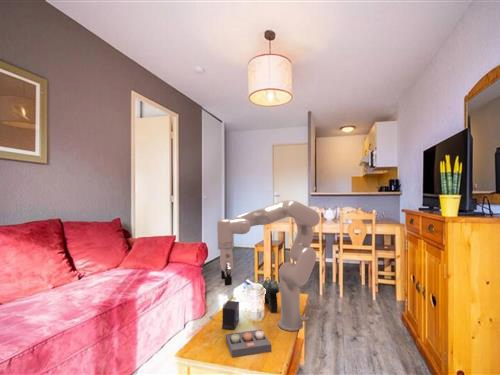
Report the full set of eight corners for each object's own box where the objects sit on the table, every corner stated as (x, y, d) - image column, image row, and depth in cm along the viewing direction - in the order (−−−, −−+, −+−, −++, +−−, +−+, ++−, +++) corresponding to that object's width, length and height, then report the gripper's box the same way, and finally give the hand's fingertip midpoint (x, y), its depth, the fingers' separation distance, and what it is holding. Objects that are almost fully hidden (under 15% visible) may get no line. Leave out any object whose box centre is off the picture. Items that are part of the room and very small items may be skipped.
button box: (261, 335, 132) (261, 328, 132) (271, 351, 119) (271, 343, 119) (225, 340, 128) (225, 333, 128) (231, 357, 114) (231, 349, 114)
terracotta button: (250, 337, 125) (250, 332, 125) (252, 341, 122) (252, 335, 122) (242, 338, 124) (242, 333, 125) (244, 342, 121) (244, 336, 121)
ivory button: (262, 336, 127) (262, 330, 127) (264, 339, 123) (264, 334, 123) (254, 337, 126) (254, 331, 126) (256, 341, 122) (256, 335, 123)
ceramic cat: (280, 313, 157) (279, 277, 158) (269, 314, 156) (268, 278, 157) (269, 301, 177) (269, 269, 178) (259, 302, 175) (259, 269, 176)
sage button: (238, 339, 124) (238, 333, 124) (240, 343, 120) (240, 337, 121) (230, 340, 123) (230, 334, 123) (232, 344, 120) (232, 338, 120)
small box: (234, 330, 138) (234, 308, 138) (221, 329, 139) (221, 307, 139) (239, 321, 148) (239, 301, 148) (227, 320, 149) (227, 300, 150)
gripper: (237, 248, 125) (238, 286, 124) (230, 242, 141) (230, 276, 141) (220, 249, 123) (221, 288, 122) (215, 243, 139) (216, 277, 139)
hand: (226, 282), depth 131 cm, fingers open, 9 cm apart
